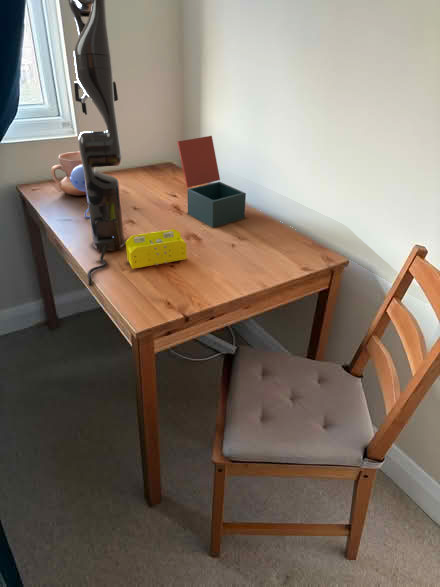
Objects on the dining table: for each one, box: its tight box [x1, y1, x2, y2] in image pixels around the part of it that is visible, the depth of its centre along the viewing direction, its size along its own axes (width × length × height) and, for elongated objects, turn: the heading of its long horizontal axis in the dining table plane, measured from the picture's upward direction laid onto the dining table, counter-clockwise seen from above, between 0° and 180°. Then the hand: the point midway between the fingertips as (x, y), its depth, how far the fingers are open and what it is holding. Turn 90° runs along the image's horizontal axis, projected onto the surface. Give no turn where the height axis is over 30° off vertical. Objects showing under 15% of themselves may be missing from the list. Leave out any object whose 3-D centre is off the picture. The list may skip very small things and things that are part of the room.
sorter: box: [186, 181, 247, 228], centre depth 157 cm, size 14×14×9 cm
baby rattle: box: [70, 165, 90, 219], centre depth 151 cm, size 9×9×18 cm
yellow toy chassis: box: [125, 228, 188, 270], centre depth 128 cm, size 16×6×8 cm, turn 114°
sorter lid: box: [176, 135, 221, 189], centre depth 157 cm, size 15×14×1 cm
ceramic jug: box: [50, 150, 86, 196], centre depth 173 cm, size 18×14×14 cm
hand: (98, 114), depth 160 cm, fingers open, 8 cm apart
